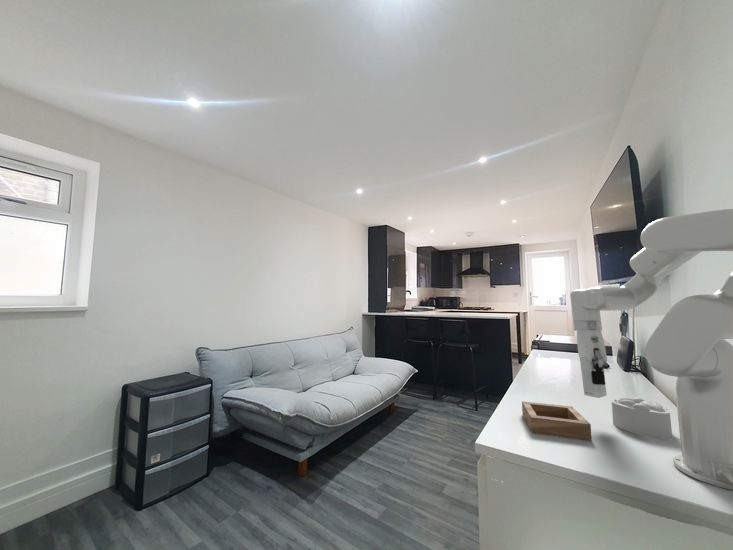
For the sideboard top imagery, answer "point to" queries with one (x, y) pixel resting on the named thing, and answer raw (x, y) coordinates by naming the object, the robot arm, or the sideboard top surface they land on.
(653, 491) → the sideboard top surface
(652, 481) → the sideboard top surface
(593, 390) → the skincare box
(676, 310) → the robot arm
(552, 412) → the square wooden tray
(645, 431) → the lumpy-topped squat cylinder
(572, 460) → the sideboard top surface
